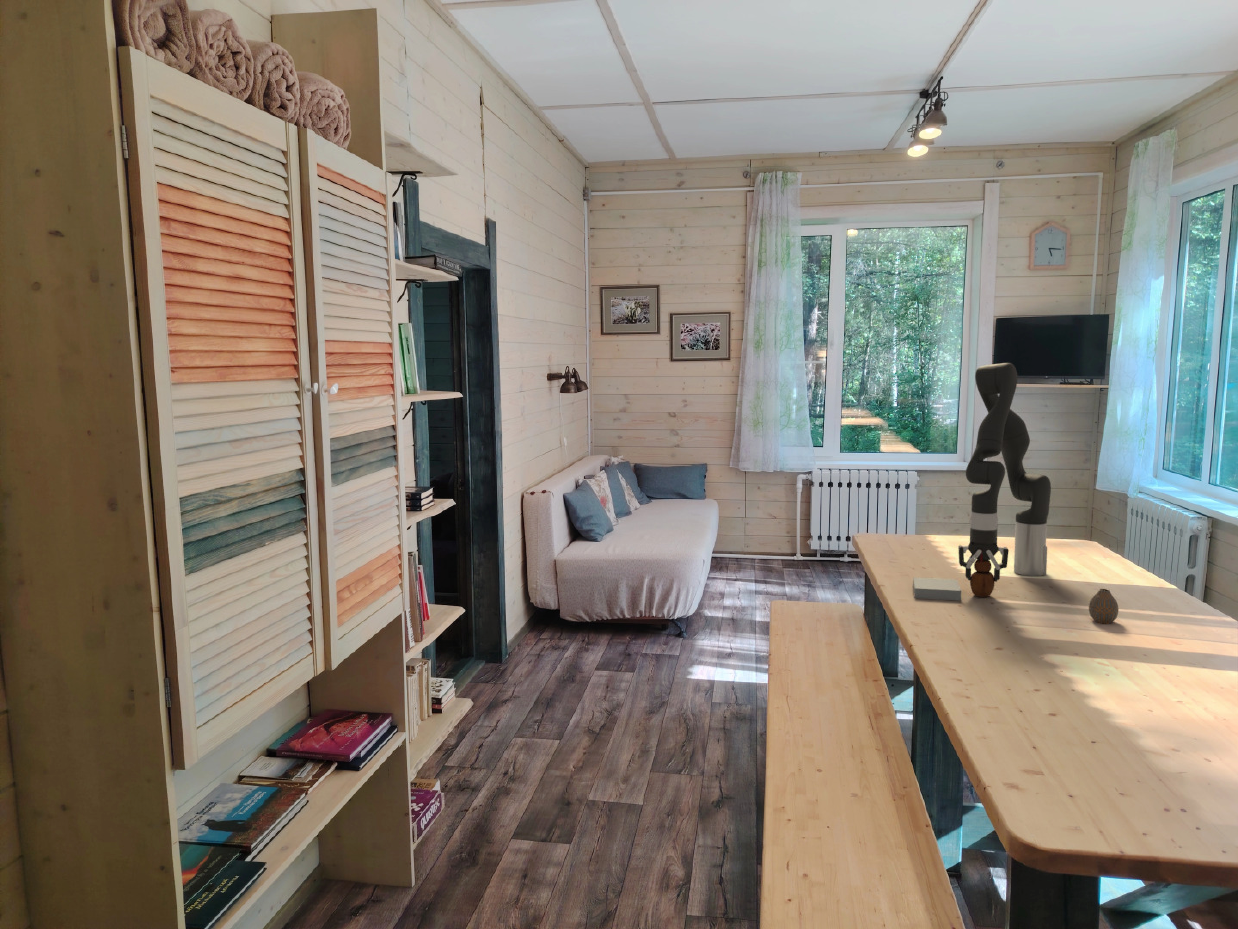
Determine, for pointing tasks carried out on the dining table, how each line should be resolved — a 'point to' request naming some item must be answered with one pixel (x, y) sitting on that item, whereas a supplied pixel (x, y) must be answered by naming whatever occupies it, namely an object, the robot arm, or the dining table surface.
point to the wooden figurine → (982, 578)
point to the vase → (1103, 607)
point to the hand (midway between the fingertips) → (982, 580)
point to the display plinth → (936, 588)
